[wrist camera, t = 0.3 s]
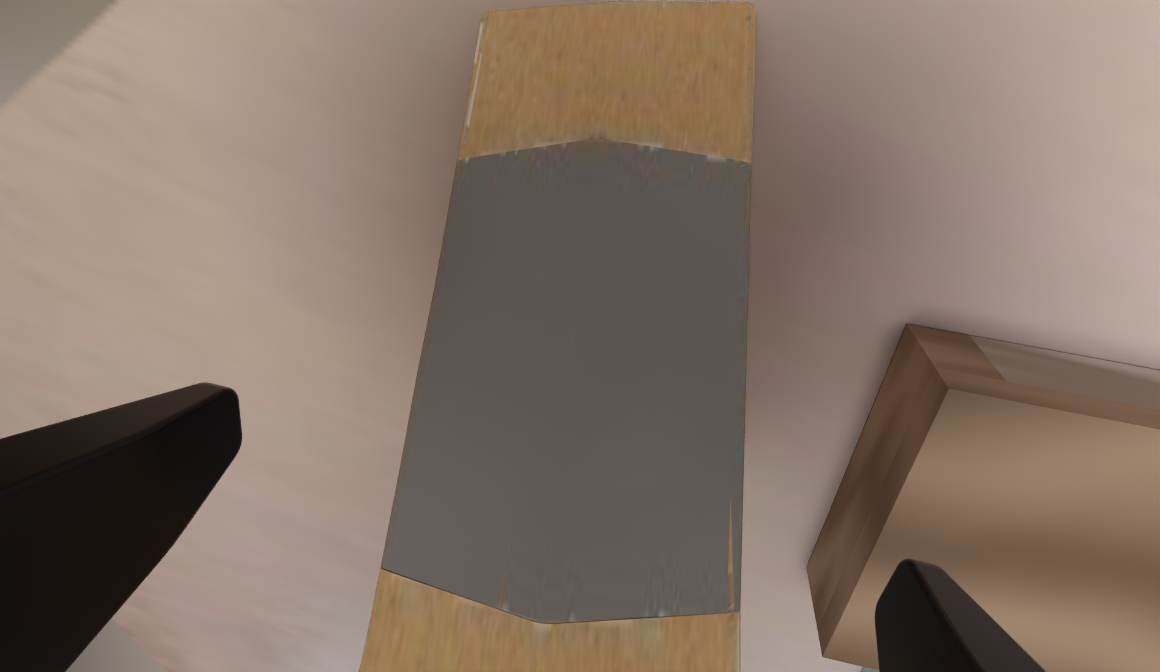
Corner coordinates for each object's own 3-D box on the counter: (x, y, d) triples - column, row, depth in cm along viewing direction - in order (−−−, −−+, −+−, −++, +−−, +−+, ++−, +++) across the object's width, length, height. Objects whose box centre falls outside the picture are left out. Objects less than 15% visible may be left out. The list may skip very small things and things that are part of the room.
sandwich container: (767, -7, 18) (935, -62, 5) (727, 441, 25) (749, 926, 12) (474, 4, 19) (-16, -16, 6) (512, 424, 26) (317, 838, 13)
